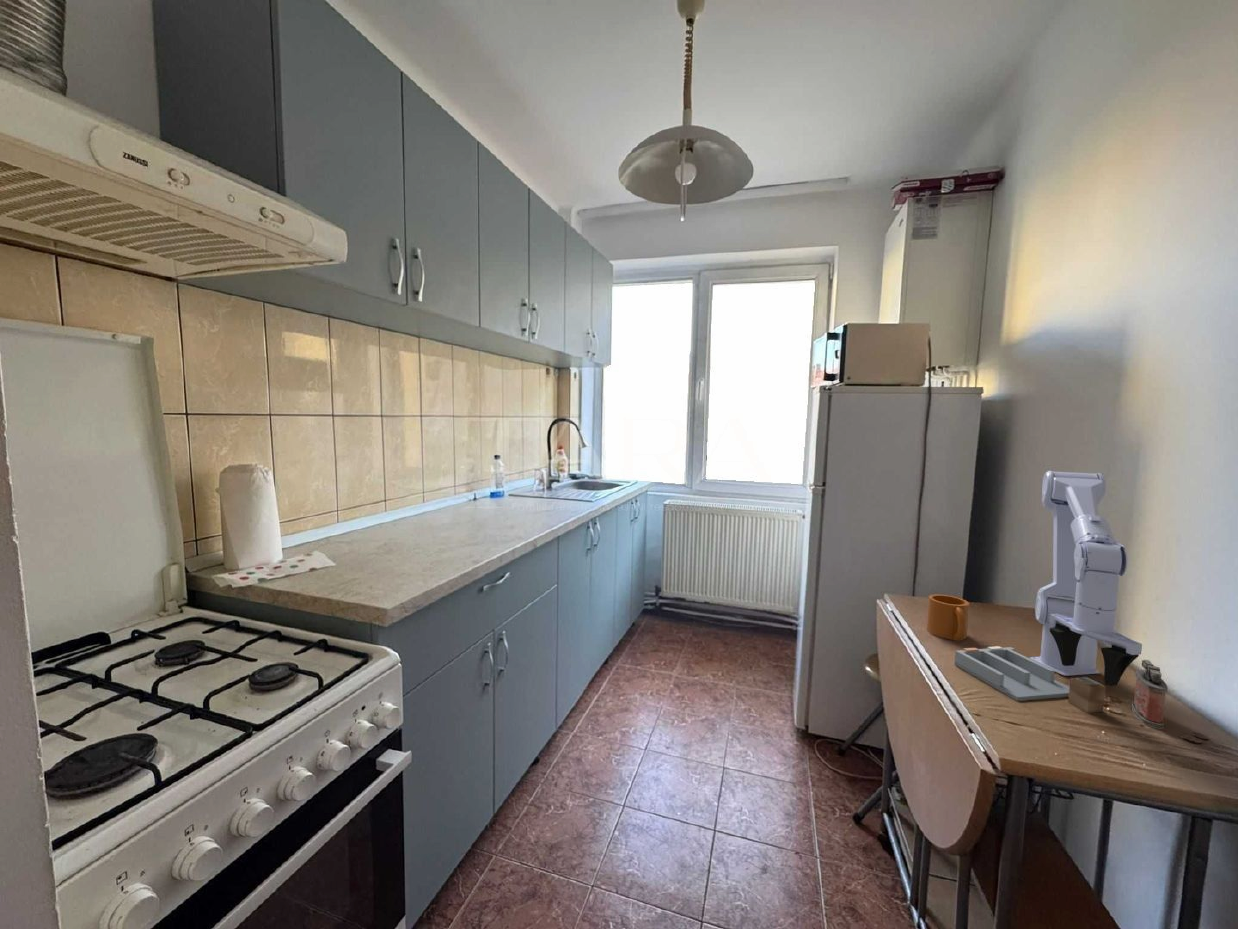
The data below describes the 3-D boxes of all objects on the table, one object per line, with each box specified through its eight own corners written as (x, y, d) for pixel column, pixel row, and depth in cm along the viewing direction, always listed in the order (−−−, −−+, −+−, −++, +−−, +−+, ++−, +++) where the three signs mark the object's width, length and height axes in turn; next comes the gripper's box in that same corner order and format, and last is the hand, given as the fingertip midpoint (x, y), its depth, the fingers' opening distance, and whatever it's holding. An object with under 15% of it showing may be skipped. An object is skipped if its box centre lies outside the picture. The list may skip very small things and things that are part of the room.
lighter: (1168, 731, 89) (1174, 677, 89) (1141, 724, 91) (1147, 672, 90) (1151, 710, 96) (1157, 659, 95) (1127, 704, 98) (1132, 655, 97)
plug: (1083, 701, 99) (1085, 675, 98) (1102, 711, 95) (1105, 684, 95) (1068, 702, 98) (1070, 676, 98) (1087, 713, 95) (1090, 686, 94)
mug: (934, 642, 125) (936, 607, 124) (922, 625, 136) (924, 592, 136) (977, 647, 122) (978, 611, 122) (961, 629, 134) (962, 596, 133)
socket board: (1009, 661, 115) (1011, 645, 115) (1079, 695, 101) (1080, 678, 100) (954, 664, 113) (955, 649, 113) (1017, 701, 98) (1018, 682, 98)
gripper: (1039, 593, 102) (1033, 658, 103) (1121, 621, 87) (1114, 696, 88) (1068, 592, 103) (1062, 656, 104) (1154, 619, 89) (1146, 693, 90)
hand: (1088, 674), depth 96 cm, fingers open, 7 cm apart
